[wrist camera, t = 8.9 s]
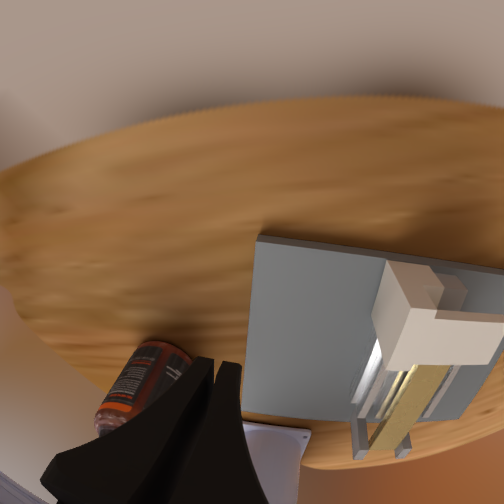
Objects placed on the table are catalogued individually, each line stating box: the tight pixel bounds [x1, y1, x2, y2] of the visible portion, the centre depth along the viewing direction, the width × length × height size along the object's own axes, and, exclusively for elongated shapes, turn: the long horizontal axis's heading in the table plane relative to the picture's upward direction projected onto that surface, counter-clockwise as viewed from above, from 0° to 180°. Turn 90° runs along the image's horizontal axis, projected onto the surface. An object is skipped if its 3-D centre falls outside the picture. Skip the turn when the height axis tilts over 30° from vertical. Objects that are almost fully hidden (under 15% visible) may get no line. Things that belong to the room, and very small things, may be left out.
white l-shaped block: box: [371, 260, 504, 371], centre depth 16 cm, size 4×7×5 cm, turn 86°
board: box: [241, 234, 504, 460], centre depth 20 cm, size 16×22×6 cm
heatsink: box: [349, 325, 461, 419], centre depth 20 cm, size 7×7×3 cm
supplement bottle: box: [94, 341, 193, 437], centre depth 21 cm, size 6×6×11 cm
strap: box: [368, 365, 451, 450], centre depth 18 cm, size 13×2×1 cm, turn 176°
